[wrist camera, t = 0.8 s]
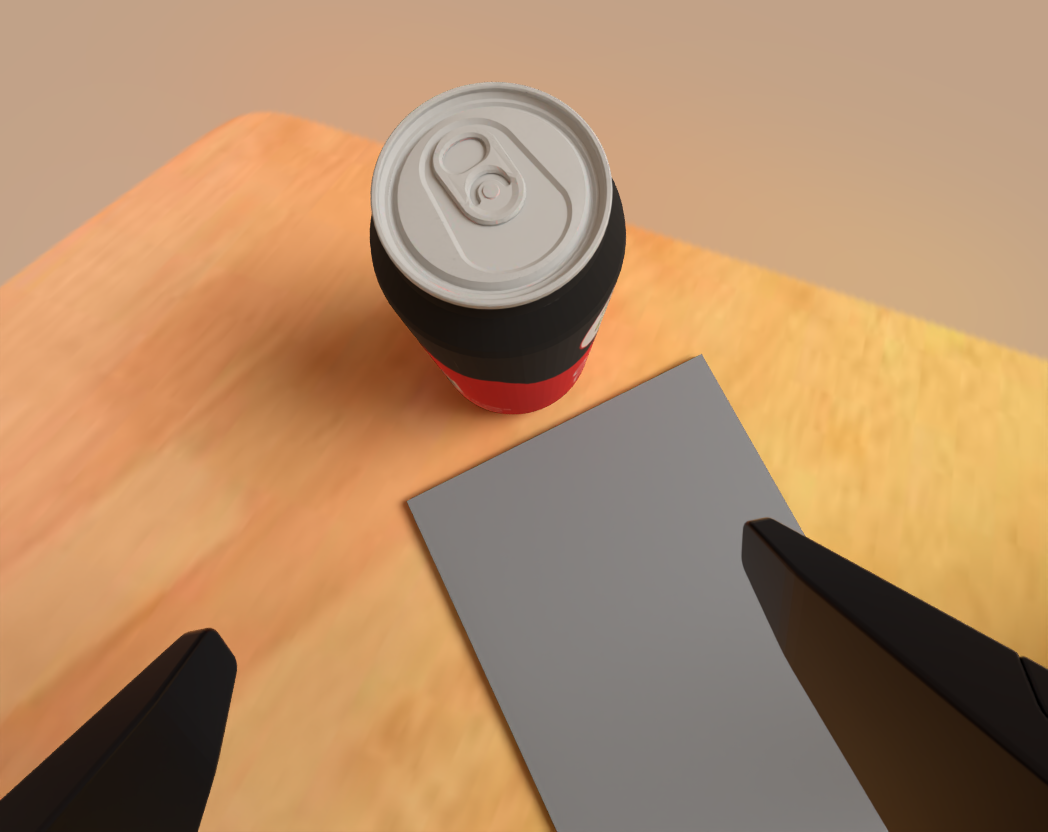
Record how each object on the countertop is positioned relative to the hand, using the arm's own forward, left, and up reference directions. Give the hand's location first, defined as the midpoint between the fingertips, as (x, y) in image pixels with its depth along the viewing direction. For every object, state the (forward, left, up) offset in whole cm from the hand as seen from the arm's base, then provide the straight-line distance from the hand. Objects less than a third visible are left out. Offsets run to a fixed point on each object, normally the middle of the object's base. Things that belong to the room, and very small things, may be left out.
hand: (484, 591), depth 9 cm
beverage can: (+7, -3, -13) cm, 15 cm away
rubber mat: (-7, -3, -13) cm, 15 cm away
